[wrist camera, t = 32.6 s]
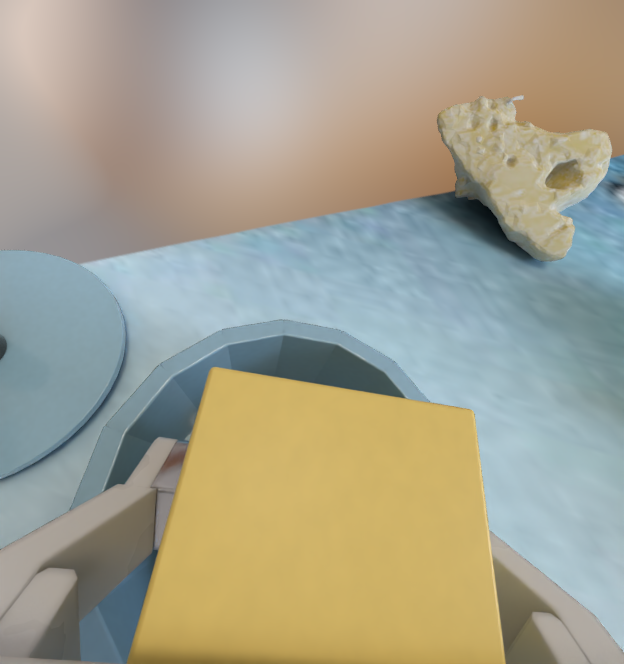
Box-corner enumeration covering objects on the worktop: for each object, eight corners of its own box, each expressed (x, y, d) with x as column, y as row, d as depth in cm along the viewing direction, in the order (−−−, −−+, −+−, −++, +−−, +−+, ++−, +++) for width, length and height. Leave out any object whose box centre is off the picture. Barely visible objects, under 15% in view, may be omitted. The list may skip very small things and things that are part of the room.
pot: (382, 649, 16) (498, 801, 8) (108, 629, 15) (-48, 793, 7) (384, 394, 22) (453, 350, 15) (191, 362, 21) (156, 294, 13)
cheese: (557, 250, 36) (567, 99, 31) (615, 253, 29) (638, 60, 24) (423, 271, 37) (415, 129, 33) (447, 279, 30) (441, 100, 26)
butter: (333, 553, 13) (515, 712, 4) (213, 540, 12) (117, 690, 4) (340, 452, 15) (475, 408, 6) (235, 437, 14) (210, 364, 5)
